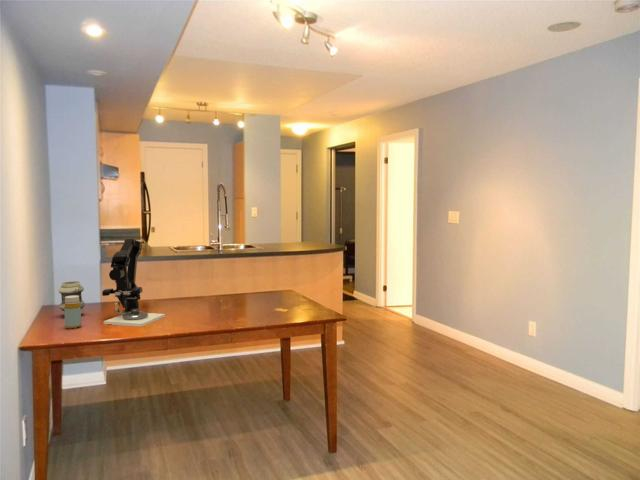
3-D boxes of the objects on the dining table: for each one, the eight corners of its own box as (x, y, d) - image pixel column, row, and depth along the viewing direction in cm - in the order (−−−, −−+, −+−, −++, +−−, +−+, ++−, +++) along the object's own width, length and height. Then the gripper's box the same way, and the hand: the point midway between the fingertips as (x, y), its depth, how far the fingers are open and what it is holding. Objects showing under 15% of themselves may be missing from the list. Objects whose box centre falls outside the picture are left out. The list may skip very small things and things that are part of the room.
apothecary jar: (60, 314, 266) (59, 281, 264) (85, 312, 270) (84, 279, 269) (58, 319, 255) (56, 284, 253) (84, 317, 259) (83, 283, 258)
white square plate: (103, 324, 245) (103, 321, 245) (129, 314, 265) (129, 311, 265) (141, 326, 240) (141, 323, 240) (164, 316, 261) (164, 314, 260)
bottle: (70, 329, 234) (69, 298, 233) (62, 327, 238) (60, 296, 237) (84, 326, 240) (83, 296, 239) (75, 324, 244) (74, 294, 243)
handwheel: (152, 314, 257) (152, 302, 256) (137, 320, 245) (137, 307, 245) (123, 312, 262) (122, 300, 261) (106, 317, 251) (106, 304, 250)
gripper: (144, 274, 266) (146, 303, 266) (108, 276, 264) (110, 306, 265) (138, 277, 254) (140, 307, 255) (100, 279, 253) (103, 310, 254)
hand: (123, 307), depth 258 cm, fingers closed
